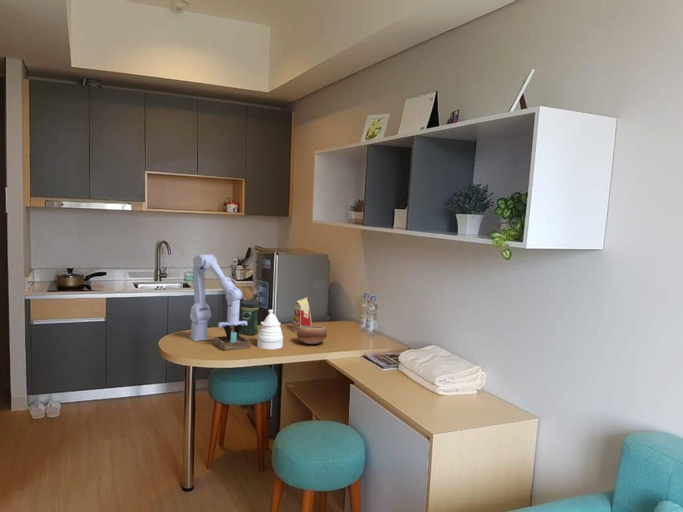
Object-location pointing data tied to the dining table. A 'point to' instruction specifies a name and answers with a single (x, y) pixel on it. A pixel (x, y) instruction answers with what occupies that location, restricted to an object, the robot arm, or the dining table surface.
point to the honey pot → (270, 333)
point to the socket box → (239, 344)
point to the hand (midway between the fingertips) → (232, 340)
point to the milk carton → (301, 314)
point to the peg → (233, 337)
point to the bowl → (311, 334)
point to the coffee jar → (249, 317)
